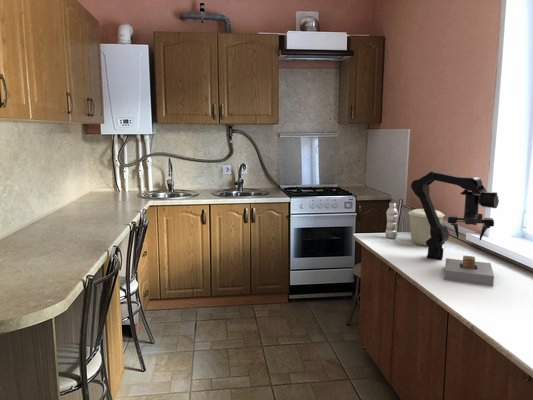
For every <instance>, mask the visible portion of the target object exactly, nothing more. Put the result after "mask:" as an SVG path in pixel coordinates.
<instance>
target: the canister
mask: <svg viewBox="0 0 533 400" xmlns="http://www.w3.org/2000/svg"><path fill="white" fill-rule="evenodd" d="M435 211H436V214H437V216H438V219H439V221H440V223H441V225H442V226H443V221H444V220H443V219H444V217H445V216H446V214H444V213H443V212H441V211H439V210H437V209H435ZM408 215H409V225H410V226H409V228H410V237H411V238H410V239H411V241H412V242H413V244H415V245H418V246H424V247H428V246H427V245H426V241H427V240H428V239H430V238H431V235H430V224H429V222H428V219H427V217H426V214H425V212H424V209H423V208H416V209H412V210H410V211H408Z"/></svg>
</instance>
